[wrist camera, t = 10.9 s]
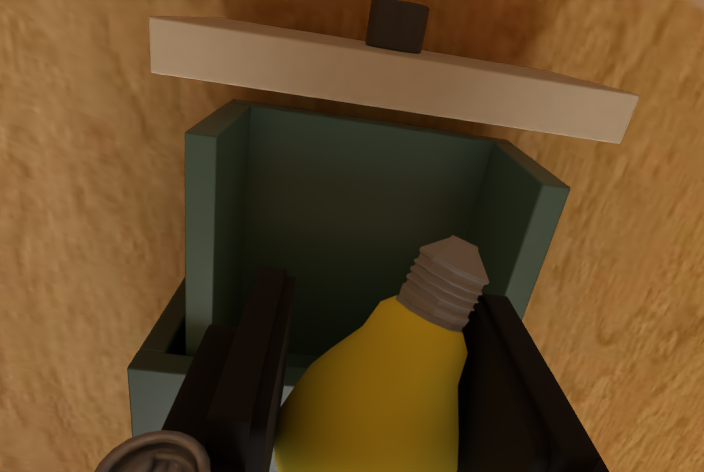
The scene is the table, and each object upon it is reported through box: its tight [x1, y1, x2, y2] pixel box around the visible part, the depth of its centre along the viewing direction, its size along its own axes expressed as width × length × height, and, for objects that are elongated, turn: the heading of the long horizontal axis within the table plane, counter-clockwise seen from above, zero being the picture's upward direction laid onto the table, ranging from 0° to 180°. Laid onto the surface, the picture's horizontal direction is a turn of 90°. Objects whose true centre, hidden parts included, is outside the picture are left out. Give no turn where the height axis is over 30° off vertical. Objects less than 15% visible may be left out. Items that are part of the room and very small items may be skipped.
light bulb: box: [274, 235, 489, 472], centre depth 9 cm, size 3×6×4 cm, turn 153°
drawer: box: [149, 0, 639, 369], centre depth 16 cm, size 15×11×6 cm
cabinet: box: [127, 278, 307, 472], centre depth 20 cm, size 15×13×8 cm
